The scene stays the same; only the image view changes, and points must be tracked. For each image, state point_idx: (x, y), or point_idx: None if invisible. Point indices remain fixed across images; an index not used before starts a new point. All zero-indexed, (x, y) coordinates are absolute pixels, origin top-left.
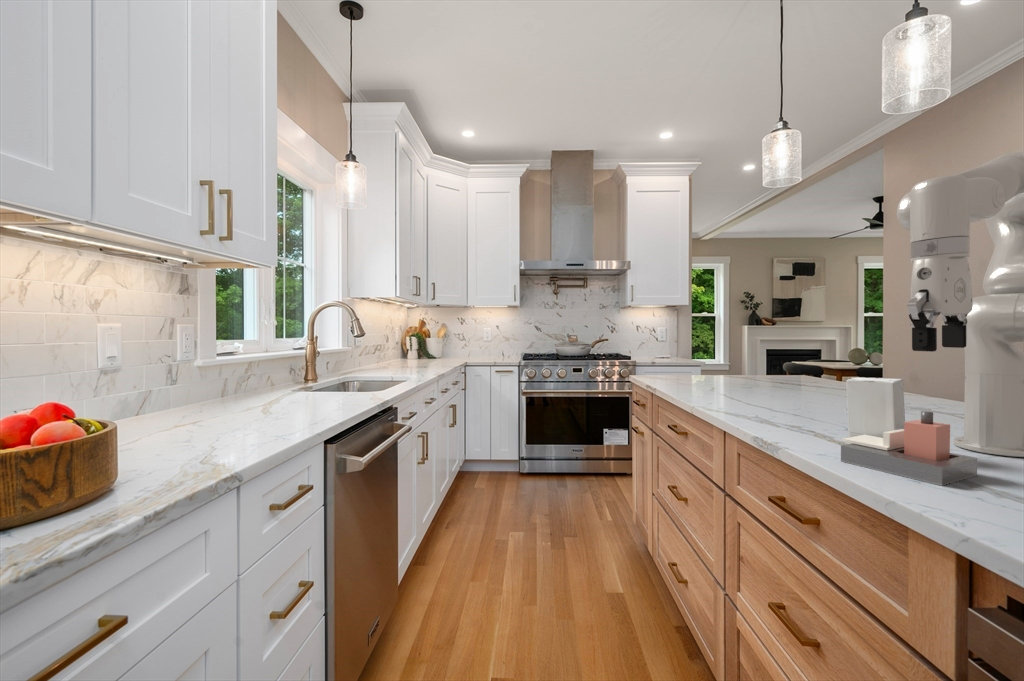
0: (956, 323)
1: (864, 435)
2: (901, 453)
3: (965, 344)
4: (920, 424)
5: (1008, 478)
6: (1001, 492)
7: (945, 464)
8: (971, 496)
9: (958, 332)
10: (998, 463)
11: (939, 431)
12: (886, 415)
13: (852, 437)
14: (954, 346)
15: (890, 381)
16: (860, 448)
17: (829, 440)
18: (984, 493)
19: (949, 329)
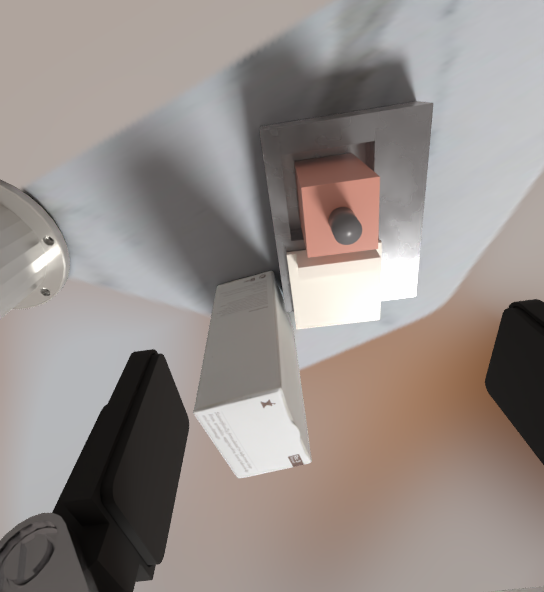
0: (110, 552)
1: (305, 324)
2: None
3: (140, 358)
4: (377, 214)
5: (215, 87)
6: (352, 20)
7: (396, 117)
8: (446, 26)
9: (140, 455)
10: (109, 173)
11: (358, 175)
12: (281, 332)
13: (348, 320)
14: (173, 384)
15: (278, 397)
16: (407, 269)
17: None
18: (395, 30)
19: (152, 513)
